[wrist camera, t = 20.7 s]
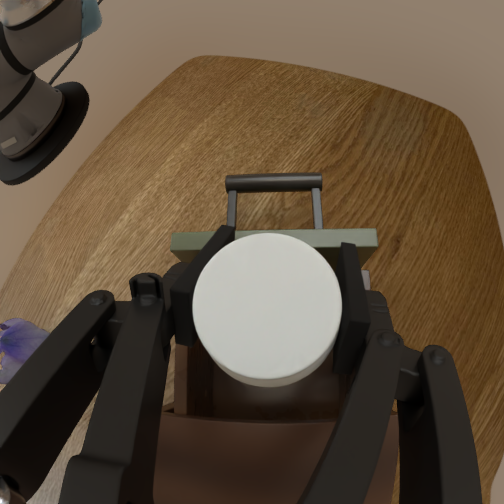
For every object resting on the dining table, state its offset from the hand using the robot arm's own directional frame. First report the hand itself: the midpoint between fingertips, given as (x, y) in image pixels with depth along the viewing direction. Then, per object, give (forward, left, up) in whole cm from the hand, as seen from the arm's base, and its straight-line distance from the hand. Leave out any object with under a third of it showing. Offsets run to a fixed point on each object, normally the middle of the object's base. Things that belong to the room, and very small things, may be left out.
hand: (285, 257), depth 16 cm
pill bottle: (+4, -1, -4) cm, 5 cm away
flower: (+7, -23, -10) cm, 25 cm away
